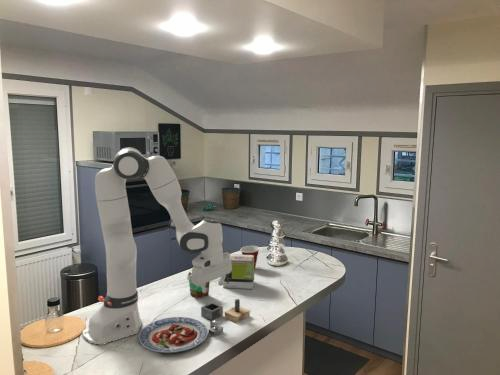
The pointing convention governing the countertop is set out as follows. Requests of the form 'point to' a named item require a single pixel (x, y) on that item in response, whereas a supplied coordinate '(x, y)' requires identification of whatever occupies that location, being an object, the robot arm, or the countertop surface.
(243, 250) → the plastic cup
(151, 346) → the ceramic plate
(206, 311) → the grey square ring
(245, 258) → the tea box
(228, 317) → the keeper
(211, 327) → the gray rectangular block
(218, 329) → the silver knob on block
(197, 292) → the food container
